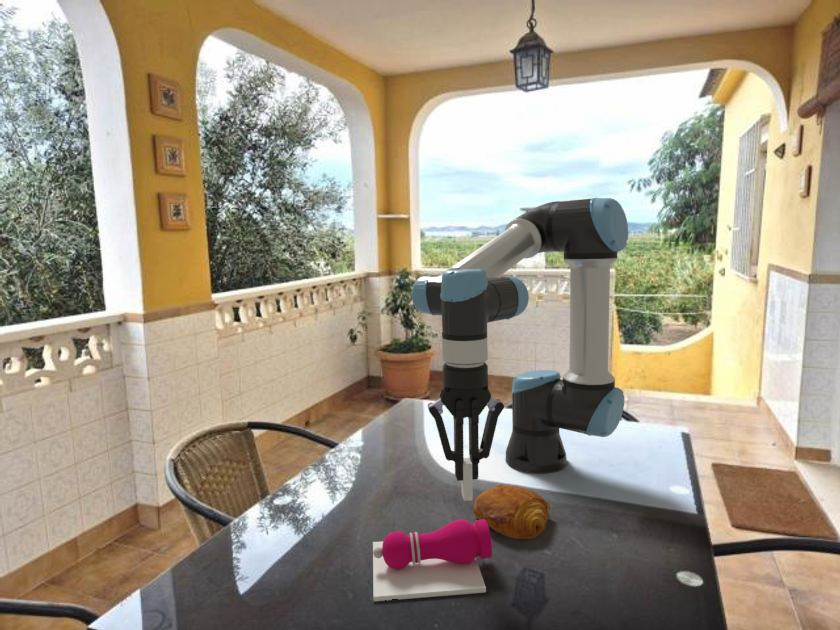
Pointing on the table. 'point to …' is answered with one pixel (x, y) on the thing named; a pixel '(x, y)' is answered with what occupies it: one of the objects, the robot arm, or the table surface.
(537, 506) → the croissant
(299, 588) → the table surface
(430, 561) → the white mat
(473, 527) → the pepper mill
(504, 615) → the table surface
